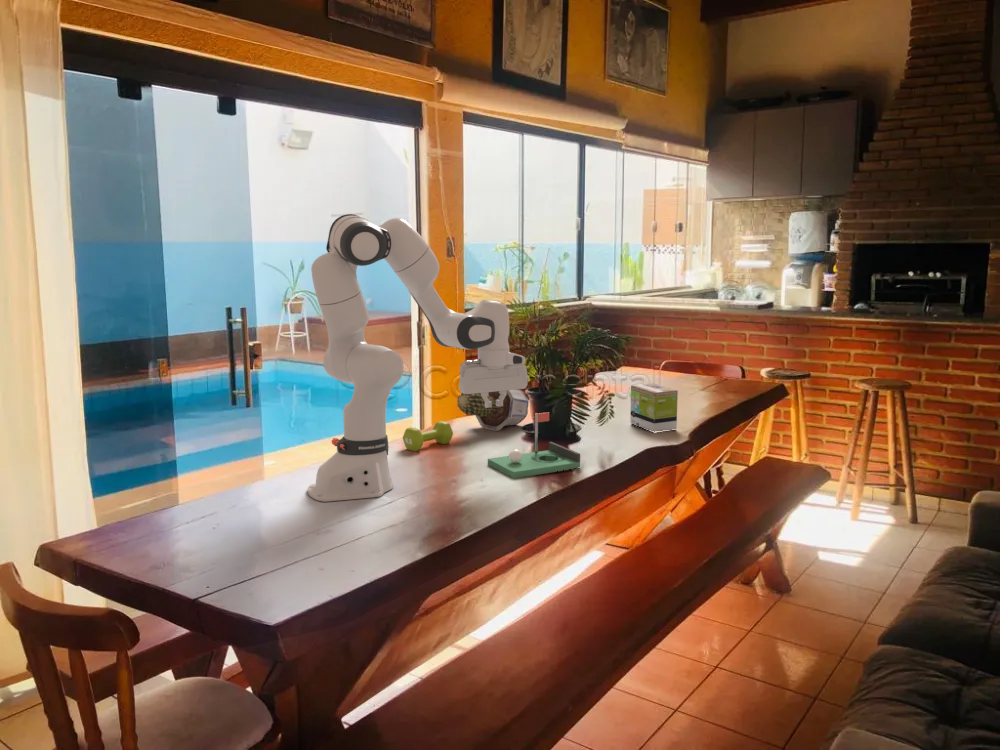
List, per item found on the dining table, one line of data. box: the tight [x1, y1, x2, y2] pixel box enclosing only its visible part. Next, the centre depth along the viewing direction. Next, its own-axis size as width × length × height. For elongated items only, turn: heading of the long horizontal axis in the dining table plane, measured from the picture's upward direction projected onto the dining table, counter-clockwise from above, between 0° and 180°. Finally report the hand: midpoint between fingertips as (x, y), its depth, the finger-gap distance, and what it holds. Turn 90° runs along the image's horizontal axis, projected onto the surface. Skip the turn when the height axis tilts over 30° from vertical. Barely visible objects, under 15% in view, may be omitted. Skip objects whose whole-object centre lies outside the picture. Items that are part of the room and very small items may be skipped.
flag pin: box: [534, 412, 550, 453], centre depth 245 cm, size 5×1×14 cm, turn 118°
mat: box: [487, 441, 581, 479], centre depth 236 cm, size 22×16×4 cm
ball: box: [508, 449, 523, 463], centre depth 233 cm, size 4×4×4 cm
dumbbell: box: [402, 420, 454, 452], centre depth 260 cm, size 16×8×7 cm, turn 135°
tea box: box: [629, 382, 679, 432], centre depth 284 cm, size 15×10×15 cm, turn 25°
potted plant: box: [456, 389, 530, 432], centre depth 282 cm, size 18×18×30 cm
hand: (493, 406), depth 228 cm, fingers closed
